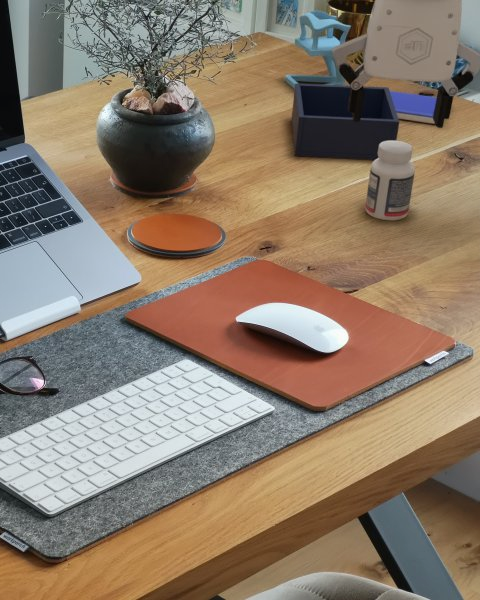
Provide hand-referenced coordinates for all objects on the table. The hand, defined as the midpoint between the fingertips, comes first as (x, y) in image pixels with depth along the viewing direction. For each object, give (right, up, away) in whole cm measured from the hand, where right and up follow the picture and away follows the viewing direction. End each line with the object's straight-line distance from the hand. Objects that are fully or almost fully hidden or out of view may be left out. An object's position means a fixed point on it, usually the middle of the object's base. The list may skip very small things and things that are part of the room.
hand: (396, 120), depth 133 cm
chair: (0, +13, +45) cm, 47 cm away
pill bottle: (0, -11, +6) cm, 12 cm away
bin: (-1, +1, +26) cm, 26 cm away
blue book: (+11, +7, +36) cm, 39 cm away
